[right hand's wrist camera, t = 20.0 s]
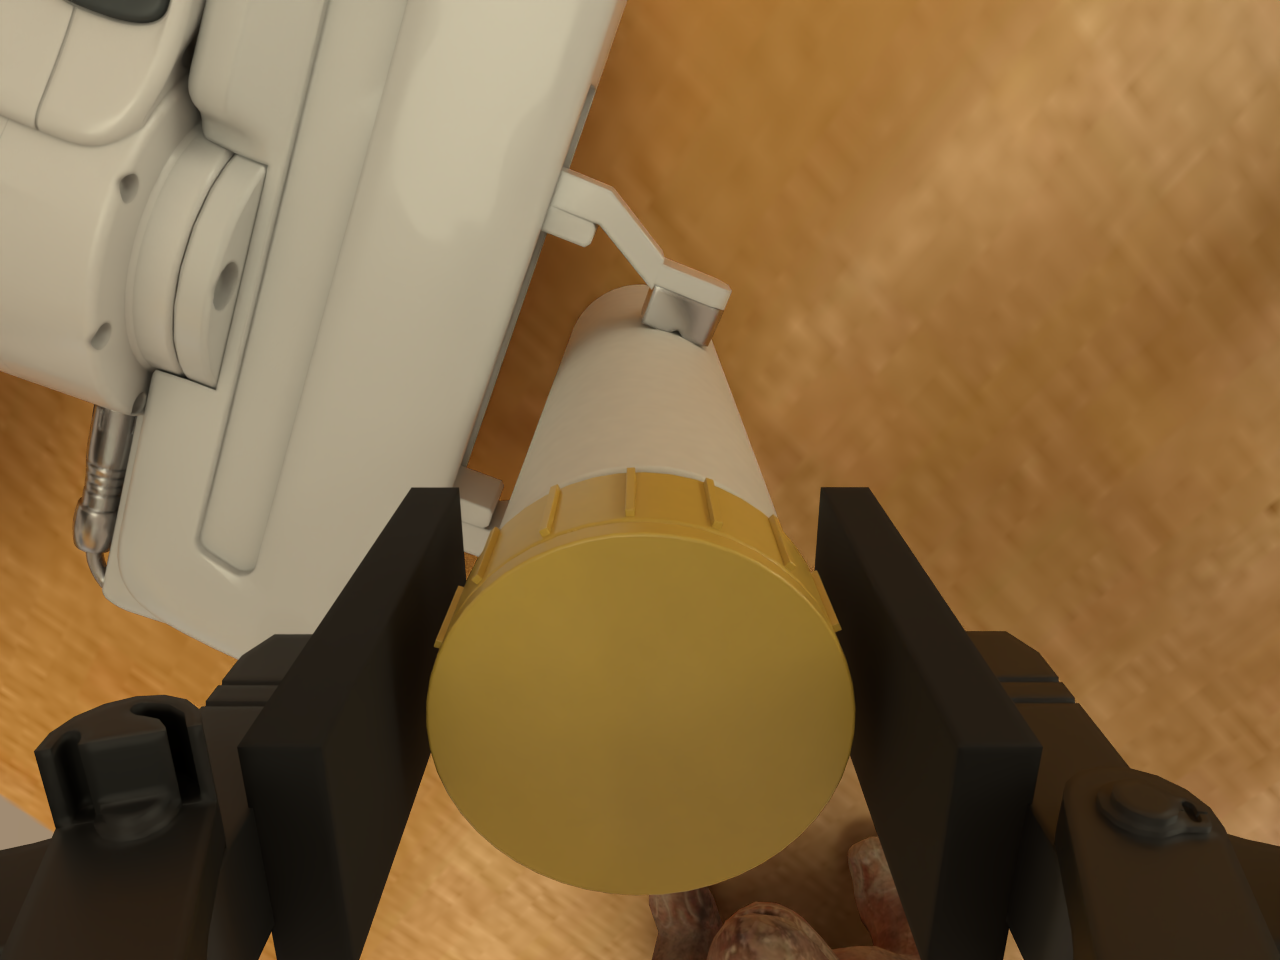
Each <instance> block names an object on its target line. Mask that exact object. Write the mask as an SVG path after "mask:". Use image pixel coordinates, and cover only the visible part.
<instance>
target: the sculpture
mask: <svg viewBox="0 0 1280 960" xmlns="http://www.w3.org/2000/svg"><path fill="white" fill-rule="evenodd" d="M847 858H848V864H849V869H850V873H851V877H852V880H853V887H854V895H855V901H856V905H857V908H858V911H859V915H860V918H861V921H862V923H863V924H864V926H865V927H866V928H867V930H868V931H869V933H870V935H871V937H872V940H873V945H874V946H852V947H845V948H837V949H831V948H830V947H829V946H828V945H827V943H826V942H825V941H824V940H823V938H822V937H821V936H820V935H819V934H818V933H817V932H816V931H815V930H814V929H813V928H812V927H811V925H810V924H809V923H808V922H807V921H806V920H805V919H804V918H803V917H801V916H800V915H799V914H797V913H796V912H794V911H793V910H791V909H789V908H787V907H785V906H783V905H780V904H778V903H772V902H754V903H752V904H749V905H747V906H745V907H743V908H741V909H739V910H738V911H737V912H736V913H734V914H733V915H732V916H731V917H730V918H729V919H727V920H726V921H725V923H724V925H722V921H721V918H720V915H719V912H718V909H717V906H716V903H715V900H714V897H713V895H712V894H711V892H710V890H709V889H708V887H707V886H706V887H702V888H698V889H694V890H690V891H684V892H677V893H670V894H663V895H649V906H650V909H651V912H652V914H653V917H654V920H655V923H656V926H657V929H658V932H659V933H658V937H657V941H656V945H655V949H654V953H653V957H652V960H921V959H920V956H919V953H918V950H917V947H916V944H915V941H914V939H913V936H912V933H911V930H910V927H909V924H908V921H907V918H906V915H905V912H904V910H903V907H902V904H901V901H900V898H899V895H898V892H897V889H896V886H895V884H894V881H893V878H892V875H891V872H890V869H889V866H888V863H887V860H886V858H885V855H884V852H883V849H882V846H881V843H880V840H879V837H868V838H866V839H864V840H862V841H859V842H857V843H855V844H853V845H852V846H851V847H850V848H849V850H848V856H847Z"/></svg>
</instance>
